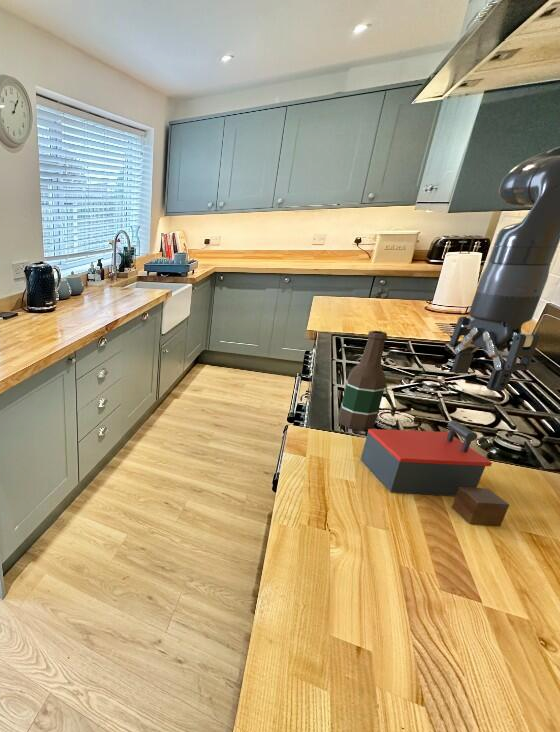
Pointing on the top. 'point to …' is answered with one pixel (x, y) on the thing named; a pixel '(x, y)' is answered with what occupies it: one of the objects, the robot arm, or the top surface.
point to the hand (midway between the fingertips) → (475, 380)
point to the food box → (417, 473)
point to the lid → (431, 446)
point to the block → (480, 506)
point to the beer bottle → (364, 387)
